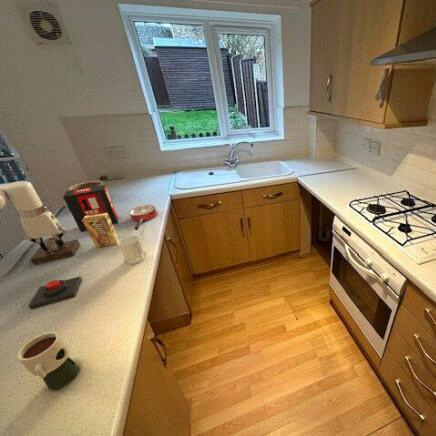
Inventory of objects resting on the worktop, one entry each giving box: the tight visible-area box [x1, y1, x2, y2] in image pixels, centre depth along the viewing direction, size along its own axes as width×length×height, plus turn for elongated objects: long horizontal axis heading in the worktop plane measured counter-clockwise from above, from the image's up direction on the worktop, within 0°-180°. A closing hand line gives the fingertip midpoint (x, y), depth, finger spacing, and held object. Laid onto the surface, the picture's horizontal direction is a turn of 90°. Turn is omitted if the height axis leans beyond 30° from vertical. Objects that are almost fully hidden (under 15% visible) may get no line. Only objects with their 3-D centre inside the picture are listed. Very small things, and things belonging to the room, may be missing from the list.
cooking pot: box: [68, 180, 109, 193], centre depth 156 cm, size 25×19×12 cm
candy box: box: [82, 213, 120, 249], centre depth 111 cm, size 9×4×15 cm, turn 110°
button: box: [44, 279, 61, 291], centre depth 85 cm, size 4×4×2 cm
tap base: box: [29, 239, 81, 266], centre depth 107 cm, size 14×10×3 cm
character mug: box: [16, 331, 80, 390], centre depth 58 cm, size 11×7×13 cm, turn 33°
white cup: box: [116, 234, 145, 265], centre depth 101 cm, size 8×8×10 cm
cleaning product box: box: [62, 184, 119, 233], centre depth 128 cm, size 16×9×20 cm, turn 123°
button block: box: [28, 276, 83, 310], centre depth 86 cm, size 12×10×4 cm
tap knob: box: [43, 236, 60, 252], centre depth 105 cm, size 4×4×5 cm
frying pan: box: [129, 204, 158, 231], centre depth 130 cm, size 32×13×6 cm, turn 29°
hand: (54, 247), depth 106 cm, fingers closed on tap knob, 4 cm apart
